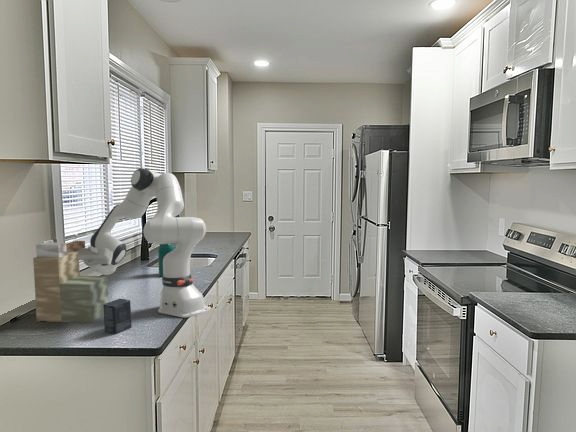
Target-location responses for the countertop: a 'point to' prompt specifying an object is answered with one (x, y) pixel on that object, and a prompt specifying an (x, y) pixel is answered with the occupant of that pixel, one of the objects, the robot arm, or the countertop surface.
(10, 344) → the countertop surface
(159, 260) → the pitcher
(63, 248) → the mallet
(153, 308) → the countertop surface
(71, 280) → the riser
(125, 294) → the countertop surface
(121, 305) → the box
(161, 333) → the countertop surface
